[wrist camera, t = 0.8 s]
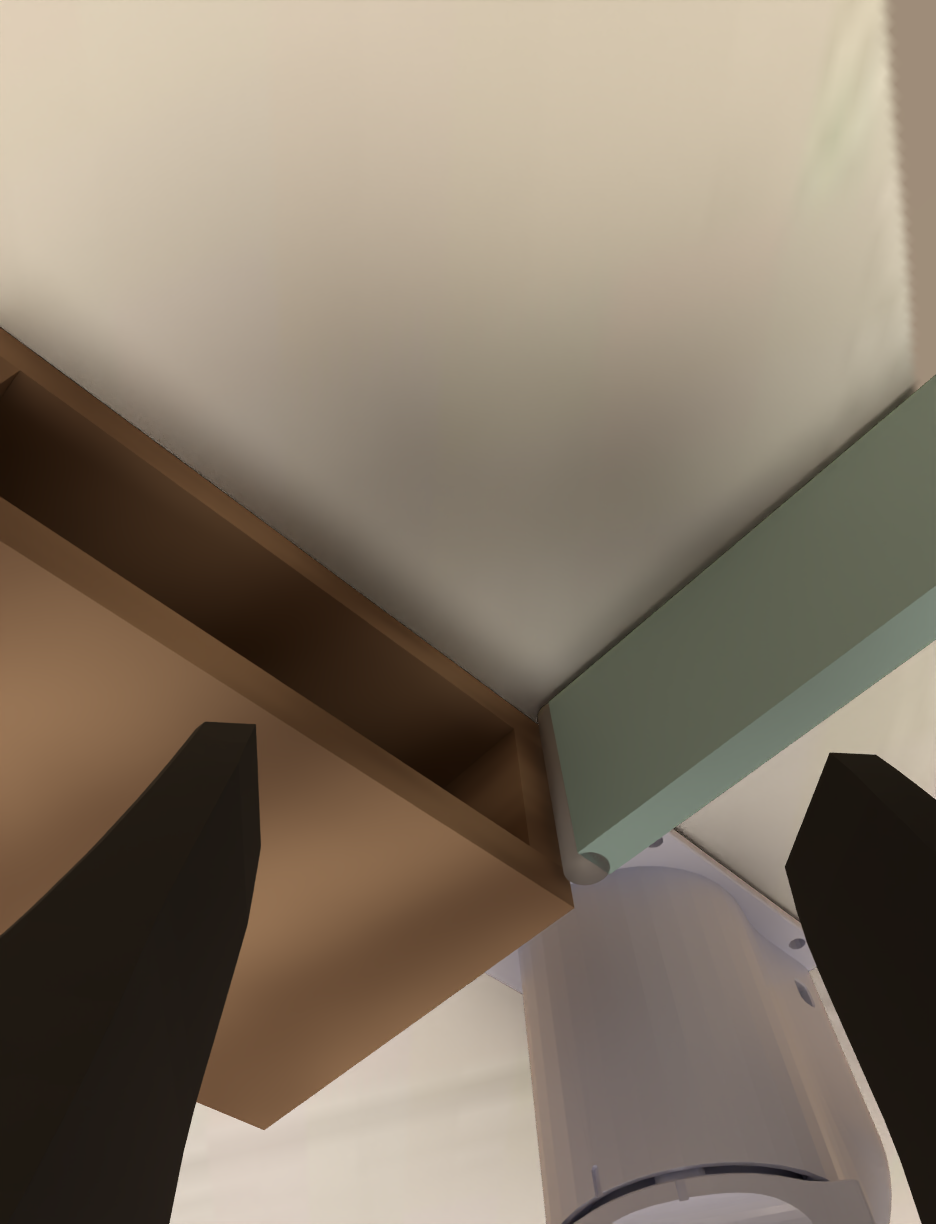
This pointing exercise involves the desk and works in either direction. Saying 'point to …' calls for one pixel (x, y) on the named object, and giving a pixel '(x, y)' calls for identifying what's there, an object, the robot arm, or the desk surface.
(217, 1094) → the walnut cabinet
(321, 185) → the desk surface
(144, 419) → the desk surface
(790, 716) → the cabinet door
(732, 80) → the desk surface
